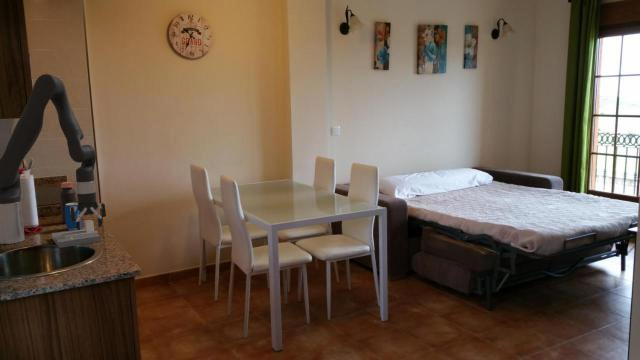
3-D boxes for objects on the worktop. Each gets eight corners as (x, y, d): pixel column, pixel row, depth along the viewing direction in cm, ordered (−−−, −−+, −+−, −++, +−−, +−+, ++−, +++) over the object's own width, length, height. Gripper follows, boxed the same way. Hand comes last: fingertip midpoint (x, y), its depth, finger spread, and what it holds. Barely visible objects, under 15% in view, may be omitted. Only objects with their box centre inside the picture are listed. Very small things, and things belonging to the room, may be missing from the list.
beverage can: (84, 227, 247) (82, 202, 246) (76, 230, 241) (74, 205, 239) (71, 227, 248) (69, 202, 246) (63, 230, 242) (61, 205, 240)
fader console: (59, 247, 212) (58, 239, 212) (52, 238, 227) (51, 231, 226) (100, 241, 221) (99, 233, 221) (91, 233, 236) (90, 225, 235)
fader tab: (86, 233, 223) (86, 222, 223) (84, 231, 227) (84, 220, 226) (94, 232, 225) (93, 221, 224) (92, 230, 228) (91, 219, 228)
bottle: (59, 223, 256) (55, 183, 253) (69, 220, 262) (66, 181, 259) (70, 224, 254) (67, 183, 251) (80, 221, 260) (77, 181, 257)
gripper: (69, 194, 216) (73, 232, 219) (105, 190, 224) (108, 227, 227) (66, 192, 222) (69, 229, 225) (101, 188, 230) (104, 224, 233)
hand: (89, 228), depth 226 cm, fingers open, 8 cm apart
